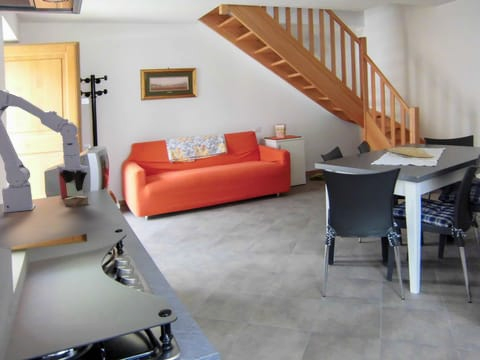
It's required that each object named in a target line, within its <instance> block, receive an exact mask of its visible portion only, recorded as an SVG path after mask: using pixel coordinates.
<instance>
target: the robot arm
mask: <svg viewBox="0 0 480 360" xmlns="http://www.w3.org/2000/svg"><path fill="white" fill-rule="evenodd" d="M9 107H14V108H15V107H16V108H20V109H21V110H24V111H25V112H27V113H28V114H30V115H33V116H34V117H36V118H37V119H39V120H40V124H41V125H42V126H45V127H46V128H49V129H50V130H52V131H54V132H55V133H60V136H61V137H62V138H61V139H62V152H63V153H62V154H63V161H64V162H63V163H64V165H56V169H57V172H59V171H63V172H62V173H60V175H61V176H62V178H63V179H64V181H65V183H69V182H72V181H74V180H75V184H76V189H77V191H80V190H82V189H83V187H84V181H85V179H86V176H87V174H88V173H90V170H91V169H90V166H86V165H82V164H81V154H80V144H79V137H78V134H79V129H78V126H77V125H76V124H75V123H74V122H70V121H69V119H68V118H66V119H65V118H63V116H60V115H58V112H57V111H56V110H46V111H44V110H43V109H42V108H41V107H40V108H39V106H36V105H35V104H33V103H32V102H30V101H29V100H27V99H25V98H23V96H20V95H18V94H15V93H14V92H10V91H9V90H7V89H3V88H2V89H1V88H0V157H1V159H2V161H3V165H4V171H5V174H6V176H5V178H6V179H5V180H6V182H7V184H8V186H4V187H2V191H1V193H2V203H3V209H4V210H3V211H4V212H3V213H12V212H13V213H15V212H24V211H33V210H34V209H35V207H36V204H33V197H32V187H31V182H30V181H29V179H30V177H31V172H30V170H29V169H28V167H26V166H25V165H24V162H22V160H21V159H20V158H19V156H18V154H17V151H16V149H15V147H14V144H13V143H12V140H11V138H10V136H9V134H8V132H7V129H6V127H5V125H4V123H3V120H2V116H3V114H4V112H5V110H6V109H8V108H9Z"/></svg>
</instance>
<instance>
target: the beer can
mask: <svg viewBox="0 0 480 360" xmlns="http://www.w3.org/2000/svg"><path fill="white" fill-rule="evenodd" d="M58 172H59V173H58V181H59V187H60V188H59V189H60V191H59V192H60V197H61V198H62V199H65V198H69V197H74V196H67V188H66V183H65V181H64V179H63V178H62V176H61V175H60V173H62V172H63V171H58ZM74 181H75V180H74Z"/></svg>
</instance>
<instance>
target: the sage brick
mask: <svg viewBox="0 0 480 360" xmlns="http://www.w3.org/2000/svg"><path fill="white" fill-rule="evenodd" d="M66 188H67V196H74V197H76V196H83V195H84V190H83V188H82V190H80V191H77V189H76V184H75V181H72V182H69V183H66Z"/></svg>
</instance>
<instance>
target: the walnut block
mask: <svg viewBox="0 0 480 360" xmlns="http://www.w3.org/2000/svg"><path fill="white" fill-rule="evenodd" d="M63 201H64V206H65V205H67V206H66V207H72V206H73V208H76V206H77V207H80V205H81V206H85V205H89V197H88V196H83V195H79V196H76V197H69V198H63ZM84 204H85V205H84Z"/></svg>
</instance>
